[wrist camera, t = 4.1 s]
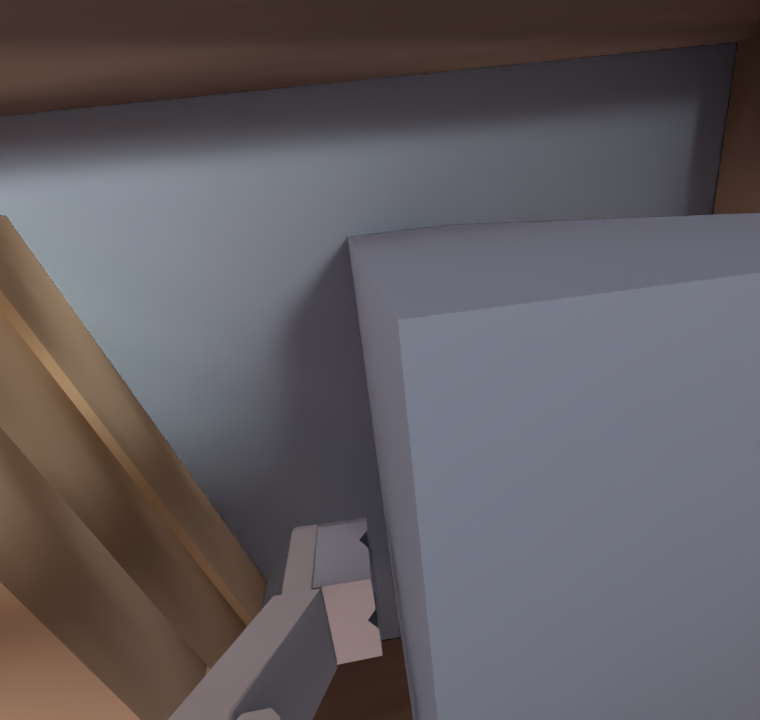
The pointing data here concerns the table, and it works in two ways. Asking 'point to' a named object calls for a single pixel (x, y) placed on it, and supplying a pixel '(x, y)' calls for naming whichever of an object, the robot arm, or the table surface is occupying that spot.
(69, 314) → the offcut stack
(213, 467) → the table surface
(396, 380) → the gray block
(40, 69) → the walnut rack
